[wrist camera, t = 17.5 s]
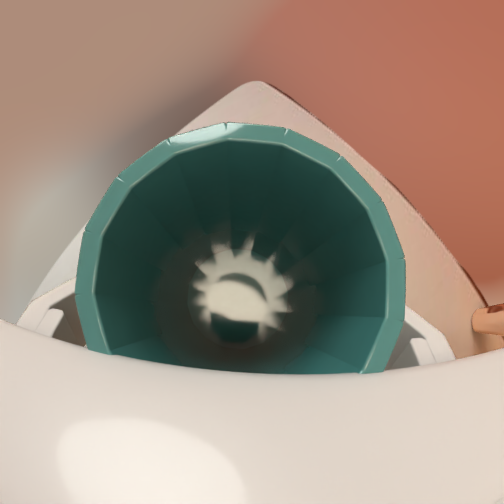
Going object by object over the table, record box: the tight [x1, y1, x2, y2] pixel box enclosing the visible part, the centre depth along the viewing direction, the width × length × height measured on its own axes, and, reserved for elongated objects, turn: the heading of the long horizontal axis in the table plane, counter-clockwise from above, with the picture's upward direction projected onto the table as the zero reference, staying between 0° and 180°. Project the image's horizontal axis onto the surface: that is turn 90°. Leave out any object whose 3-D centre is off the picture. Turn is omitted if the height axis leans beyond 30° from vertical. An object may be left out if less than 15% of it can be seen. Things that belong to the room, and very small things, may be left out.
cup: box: [75, 122, 406, 374], centre depth 10 cm, size 6×6×11 cm
